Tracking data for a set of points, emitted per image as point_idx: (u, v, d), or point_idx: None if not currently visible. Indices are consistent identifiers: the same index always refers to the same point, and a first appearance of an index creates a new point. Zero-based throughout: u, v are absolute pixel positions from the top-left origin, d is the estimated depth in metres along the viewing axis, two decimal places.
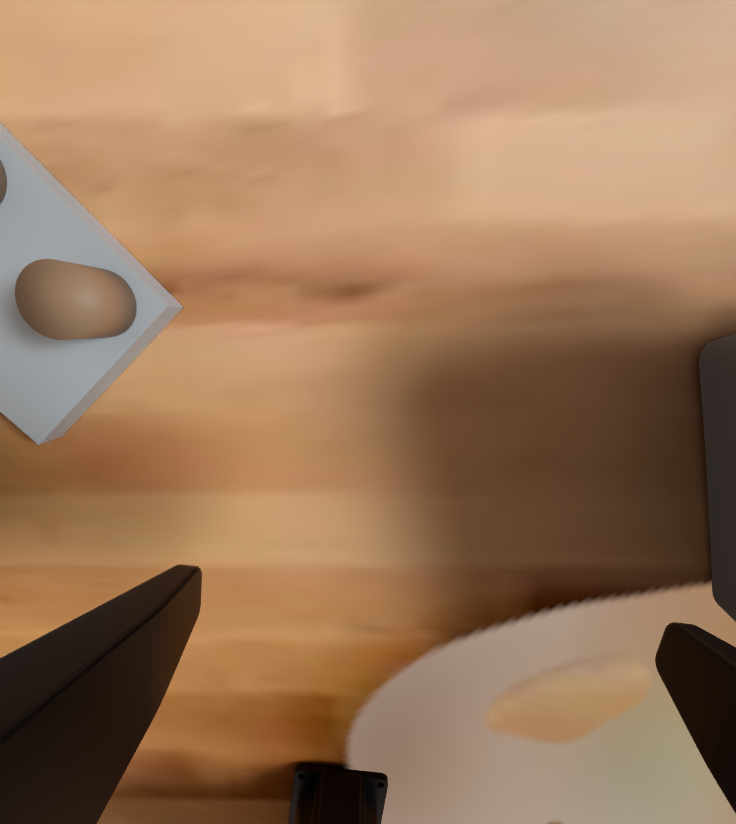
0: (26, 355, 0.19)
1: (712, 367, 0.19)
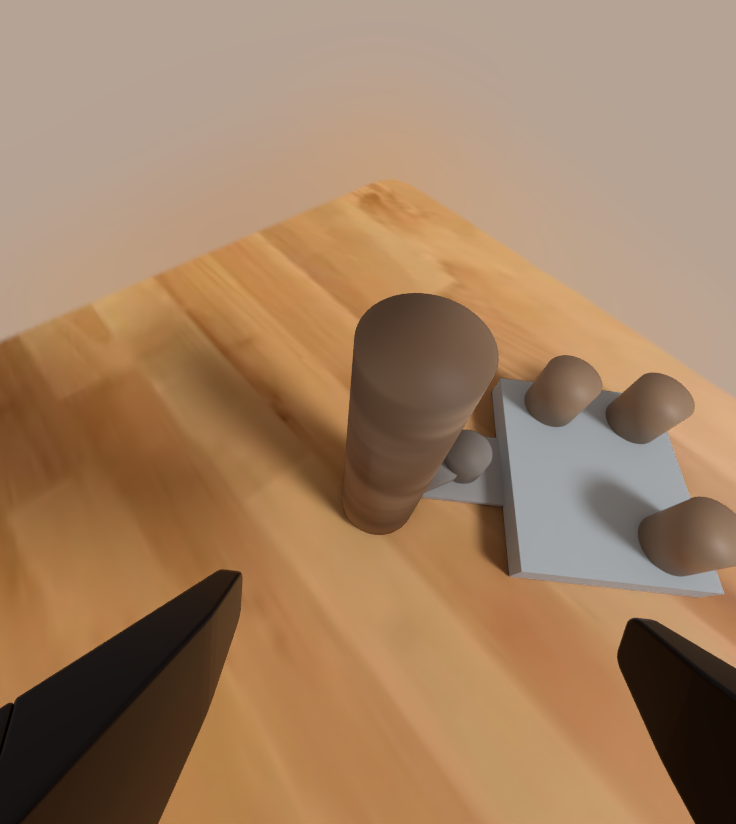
0: (575, 514, 0.21)
1: None
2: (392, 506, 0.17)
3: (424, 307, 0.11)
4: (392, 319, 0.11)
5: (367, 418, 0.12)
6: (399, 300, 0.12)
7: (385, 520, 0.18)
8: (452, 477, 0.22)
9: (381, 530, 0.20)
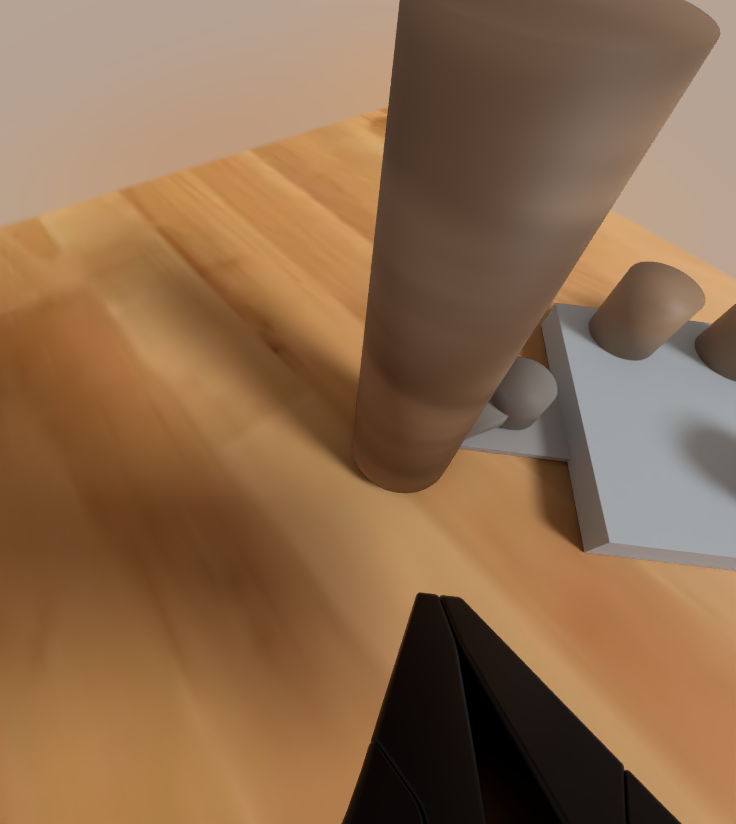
0: (674, 468, 0.15)
1: None
2: (434, 432, 0.11)
3: None
4: None
5: (420, 188, 0.06)
6: None
7: (417, 464, 0.13)
8: (502, 418, 0.16)
9: (408, 484, 0.14)
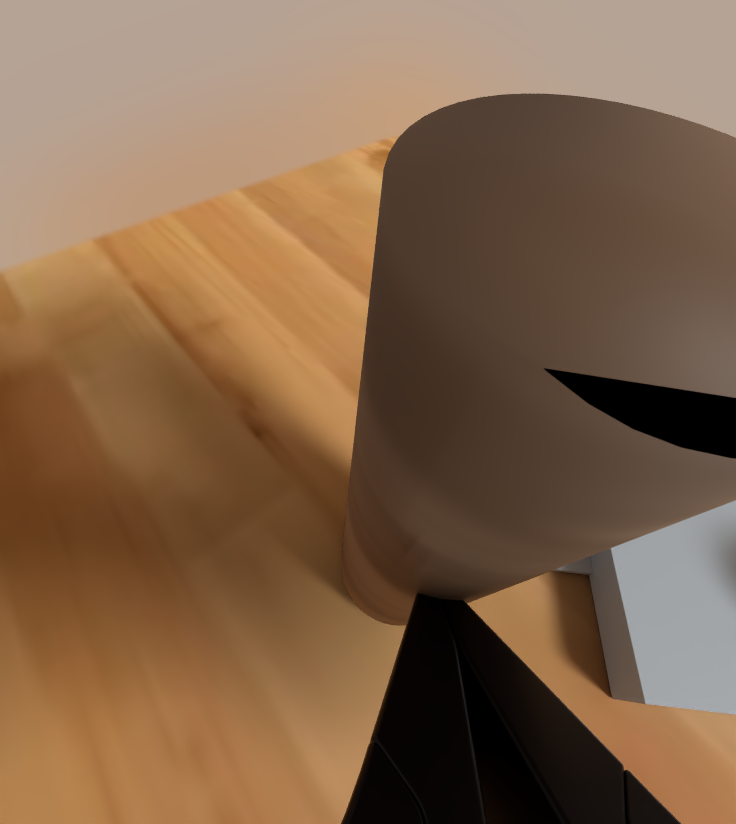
0: (716, 596, 0.13)
1: None
2: None
3: (600, 123, 0.04)
4: (508, 142, 0.03)
5: (413, 464, 0.04)
6: (518, 105, 0.04)
7: None
8: None
9: (404, 623, 0.12)
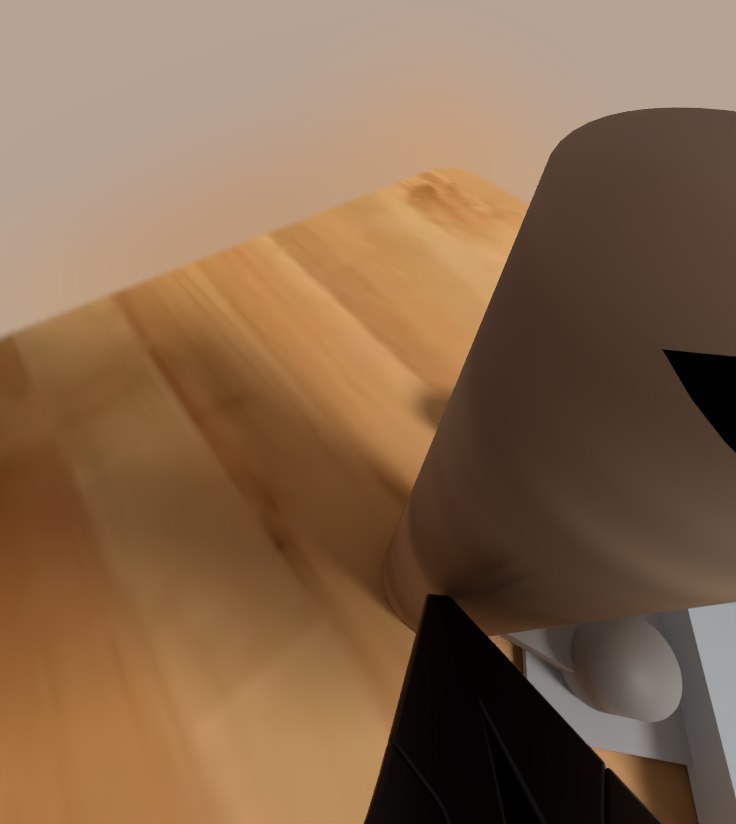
0: None
1: None
2: (423, 597, 0.09)
3: None
4: None
5: (470, 362, 0.04)
6: None
7: (408, 605, 0.11)
8: (565, 666, 0.12)
9: (400, 613, 0.12)
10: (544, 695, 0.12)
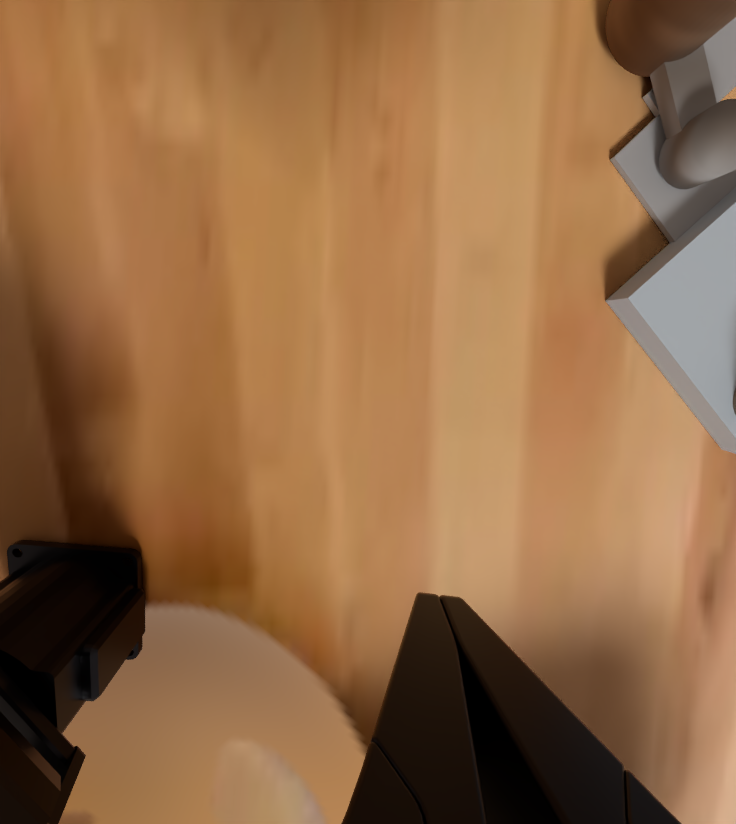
0: (730, 302, 0.17)
1: None
2: None
3: None
4: None
5: None
6: None
7: None
8: (678, 124, 0.16)
9: (620, 1, 0.15)
10: (640, 148, 0.17)
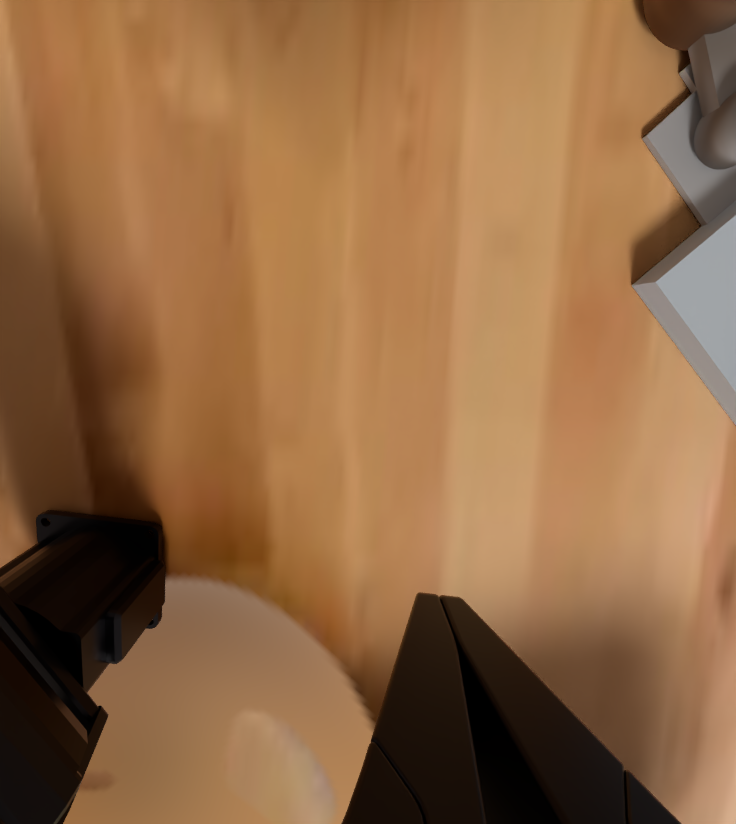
0: None
1: None
2: None
3: None
4: None
5: None
6: None
7: None
8: (716, 100, 0.15)
9: None
10: (674, 126, 0.17)
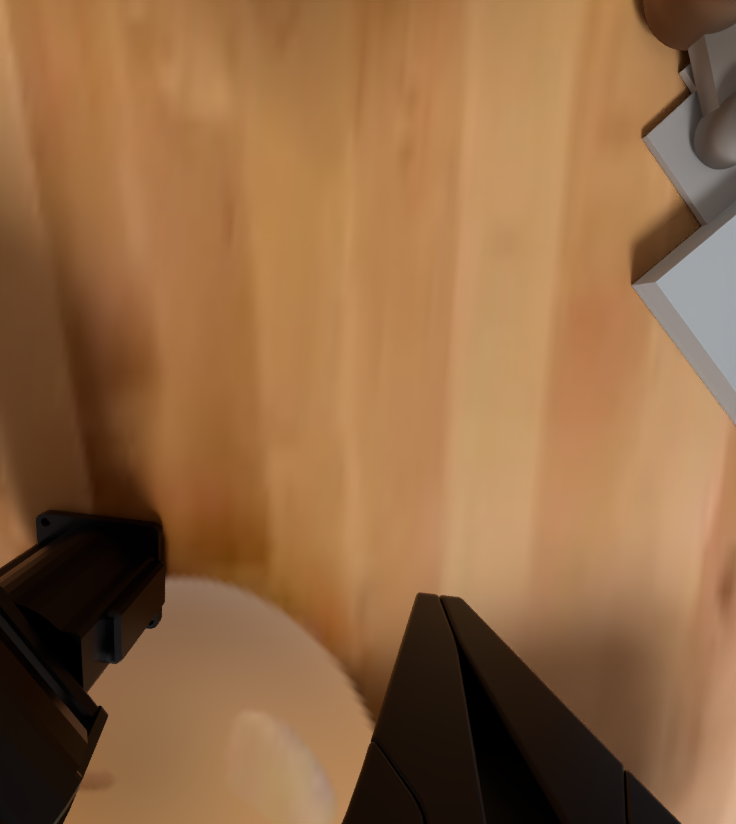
0: None
1: None
2: None
3: None
4: None
5: None
6: None
7: None
8: (716, 100, 0.15)
9: None
10: (674, 126, 0.17)
